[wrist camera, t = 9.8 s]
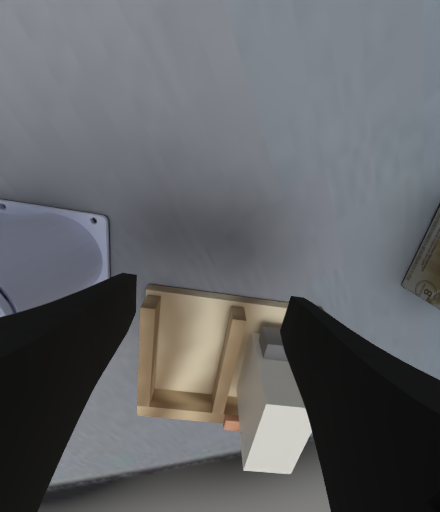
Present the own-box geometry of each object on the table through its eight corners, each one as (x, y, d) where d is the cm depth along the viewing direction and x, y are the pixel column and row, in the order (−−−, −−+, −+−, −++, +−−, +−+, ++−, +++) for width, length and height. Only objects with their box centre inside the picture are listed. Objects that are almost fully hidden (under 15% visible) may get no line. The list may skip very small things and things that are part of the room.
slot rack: (144, 388, 25) (132, 421, 22) (149, 284, 20) (135, 306, 17) (284, 402, 26) (293, 436, 23) (321, 307, 21) (341, 332, 18)
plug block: (236, 389, 24) (243, 470, 17) (254, 319, 20) (271, 387, 14) (271, 392, 24) (290, 474, 18) (294, 324, 21) (330, 393, 14)
